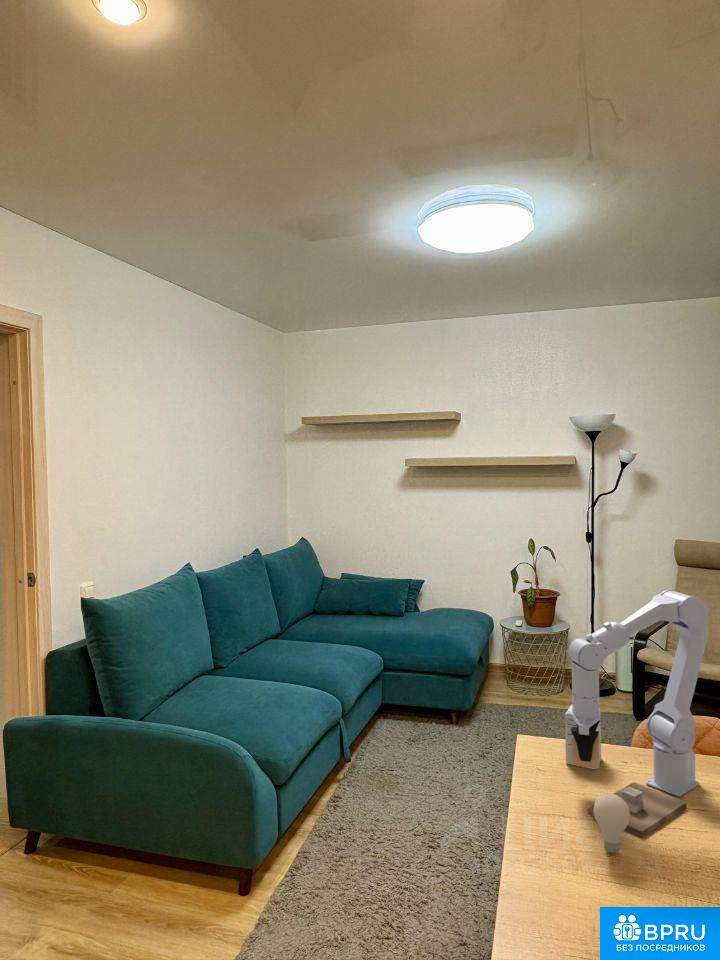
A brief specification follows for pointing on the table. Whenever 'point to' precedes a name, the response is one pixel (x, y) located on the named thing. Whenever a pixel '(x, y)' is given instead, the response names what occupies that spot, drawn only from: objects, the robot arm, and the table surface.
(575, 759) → the duct sleeve
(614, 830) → the light bulb
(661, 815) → the duct board
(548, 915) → the table surface
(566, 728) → the supplement box
